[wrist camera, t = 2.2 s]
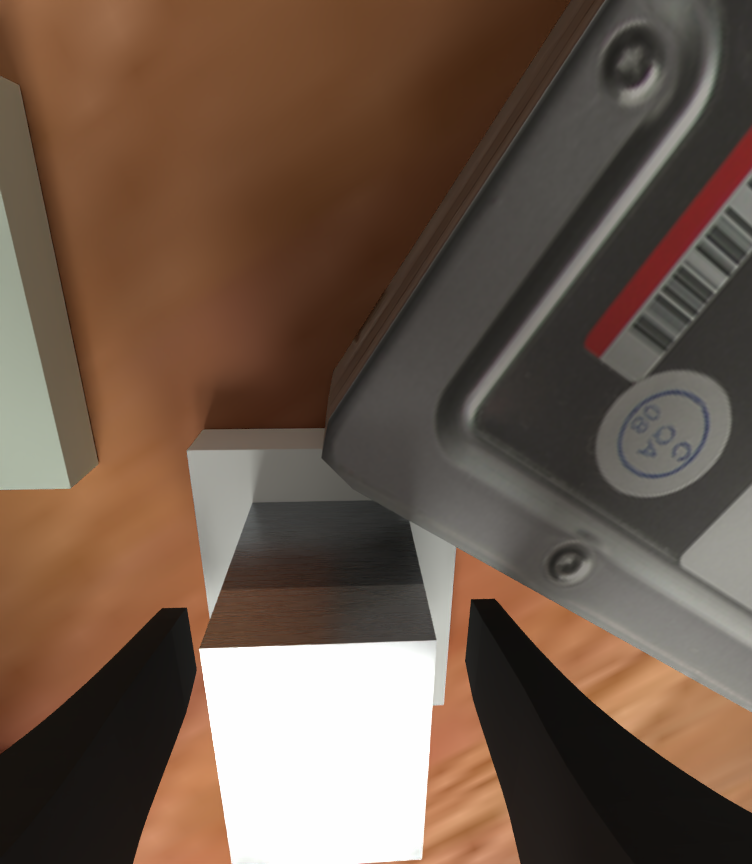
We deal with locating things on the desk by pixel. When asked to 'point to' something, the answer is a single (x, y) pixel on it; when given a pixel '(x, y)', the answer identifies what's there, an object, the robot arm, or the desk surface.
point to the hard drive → (586, 339)
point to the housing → (322, 686)
